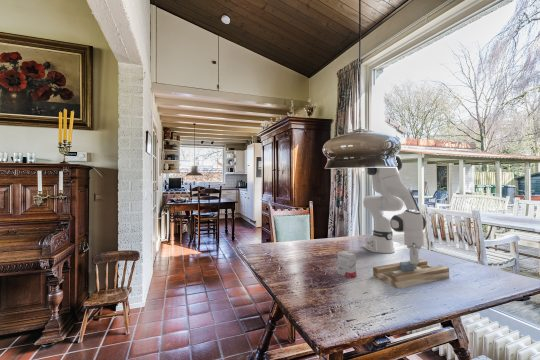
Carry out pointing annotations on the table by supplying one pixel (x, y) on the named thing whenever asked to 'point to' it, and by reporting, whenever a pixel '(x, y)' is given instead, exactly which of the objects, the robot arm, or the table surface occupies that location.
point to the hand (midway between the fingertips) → (414, 268)
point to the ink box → (346, 264)
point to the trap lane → (410, 282)
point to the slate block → (406, 266)
